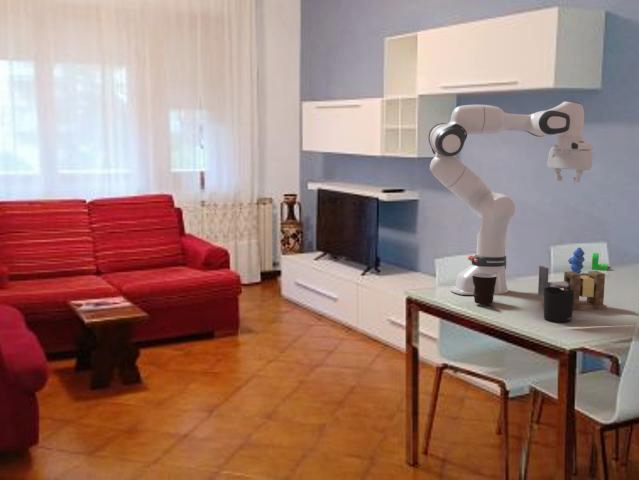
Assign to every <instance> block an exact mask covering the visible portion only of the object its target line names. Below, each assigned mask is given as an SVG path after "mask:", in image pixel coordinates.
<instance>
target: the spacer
mask: <svg viewBox="0 0 639 480" xmlns="http://www.w3.org/2000/svg"><path fill="white" fill-rule="evenodd" d="M580 282H581V288H580V296H579V297H580V298H587V297H593V293H594V279H593V278H591V277H588V275H581V278H580Z"/></svg>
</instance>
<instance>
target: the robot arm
mask: <svg viewBox="0 0 639 480" xmlns="http://www.w3.org/2000/svg"><path fill="white" fill-rule="evenodd" d="M584 126H585V111H584V106H583V104H581V103H580V102H576V101H569V100H568V101H567V100H565V101H562V102H561V103H559V104H558V105H556V106H554V107H552V108H550V109H547V110H546V109H545V110H537V111H534V112H531V113H528V114H520V113H519V114H518V113H509V112H508V113H507V112H505V111H504V110H503V109H502V108H500V107H498V106H495V105H489V104H465V105H459V106H457V107H455V108H454V109H453V111H452V112H451V116H450V121H449V122H448V123H443V122H442V123H438V124H436V125H434V126H433V127H432V128H430V130H429V131H428V132H429V133H428V142H429V145H430V148H431V151H432V153H433V155H434V156H433V158H432V159H431V160H430V161H431V162H430V164H429V170H430V172H431V174H432V175H433V176H434V178H435V179H436V180H437V181H438V182H440V183H441V184H442V185H443V186H444V187H445V189H447V190H449V192H451V193H453V195H454V196H456V197H457V198H459V199H460V200H461V201H462V202H463V203H464V204H465V206H467V208H469V209H470V210H471V211H472V212H473V213H474V214H475V215H476V216H478V217H479V218H481V219H482V220H481V221H482V222H481V225H480V229H479V232H478V233H477V234H476V254H475V255H474V256H473V255H470V254H469V255H468V256H467V259H468V260H469V261H470V262H471V264H469V266H468V267H466V268H465V269H463V270H462V271H460V272H459V273H458V275H457V276H456V280H455V285H450V287H449V290H450V291H451V292H453V293H455V294H458V295H462V296H465V295H466V296H474V289H473V277H472V274H475V273H489V274H495V275H497V278H496V284H495V291H494V295H500V294H506V293H508V292H509V289H508V285H507V279H506V278H507V277H506V269H507V256H506V247H507V246H506V245H507V234H508V230H509V226H510V222H511V219H512V218H513V217H514V214H515V211H516V205H515V202H514V201H513V199H511V198H510V197H509V196H508V195H507V194H505V193H500V192H499V193H498V192H495V191H493V190H491V188H489V187H488V186H487V184H486V183H484V181H483V180H482V177H480V176H479V175H477V174H476V173H475V172H474V171H472V170H471V169H470V167H468V166H467V165H465V164H464V163H463V162H462V161H461V160H459V159H458V157H457V155H458V154H459V153H461V151H462V150H463V148H464V146H465V142H466V140H467V137H468V135H472V134H473V135H492V134H499V133H500V132H503V131H519V132H527V133H528V134H531V135H532V136H534V137H539V138H541V137H547V136H554V135H558V136H557V137H558V138H557V142H558V143H557V144H553V145H552V146H551V148H550V149H549V152H548V156H547V157H548V158H547V165H546V166H547V168H548V169H553V172H554V174H555V181H557V182H558V181H559V182H561V181H563V175H561V171H562V170H576V171H575V172H576V174H575V176H574V177H573V183H574V182H575V183H580V181H581V177H582V175H583V174H584V171H590V170H591V169H592V167H593V151H592V150H593V148H594V145H593V143H590V142H588V141H586V140H584V135H583V134H584V133H583V129H584Z"/></svg>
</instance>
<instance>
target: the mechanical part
mask: <svg viewBox="0 0 639 480" xmlns="http://www.w3.org/2000/svg"><path fill="white" fill-rule="evenodd" d="M599 256H600V255H599V252H593V253H592V261H591V271H605V272H606V271H607V270H608V269H609V264H608V263H603V265H601V264H598V263H599V259H600V257H599Z"/></svg>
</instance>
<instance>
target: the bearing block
mask: <svg viewBox="0 0 639 480" xmlns="http://www.w3.org/2000/svg"><path fill="white" fill-rule="evenodd" d="M563 274H564V275H563V282H566V281H570V288H563V290H565V291H568V290H574V301H573V311H588V310H591V311H592V310H593V311H594V310H608V305H607V304H604V300H605V299H604V297H605V284H606V283H605V282H606V279H605V278H606V273H603V272H601V271H599V270H588V275H587V276H588V277H591V278H593V279H594V293H593V297H586V300H580V297H581V296H580V278H581V276H582V275H581V273H580V274H578V273H575V272H573V271H572V270H569V271H564V273H563ZM540 305H541V307H544V301H541V302H540Z"/></svg>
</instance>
